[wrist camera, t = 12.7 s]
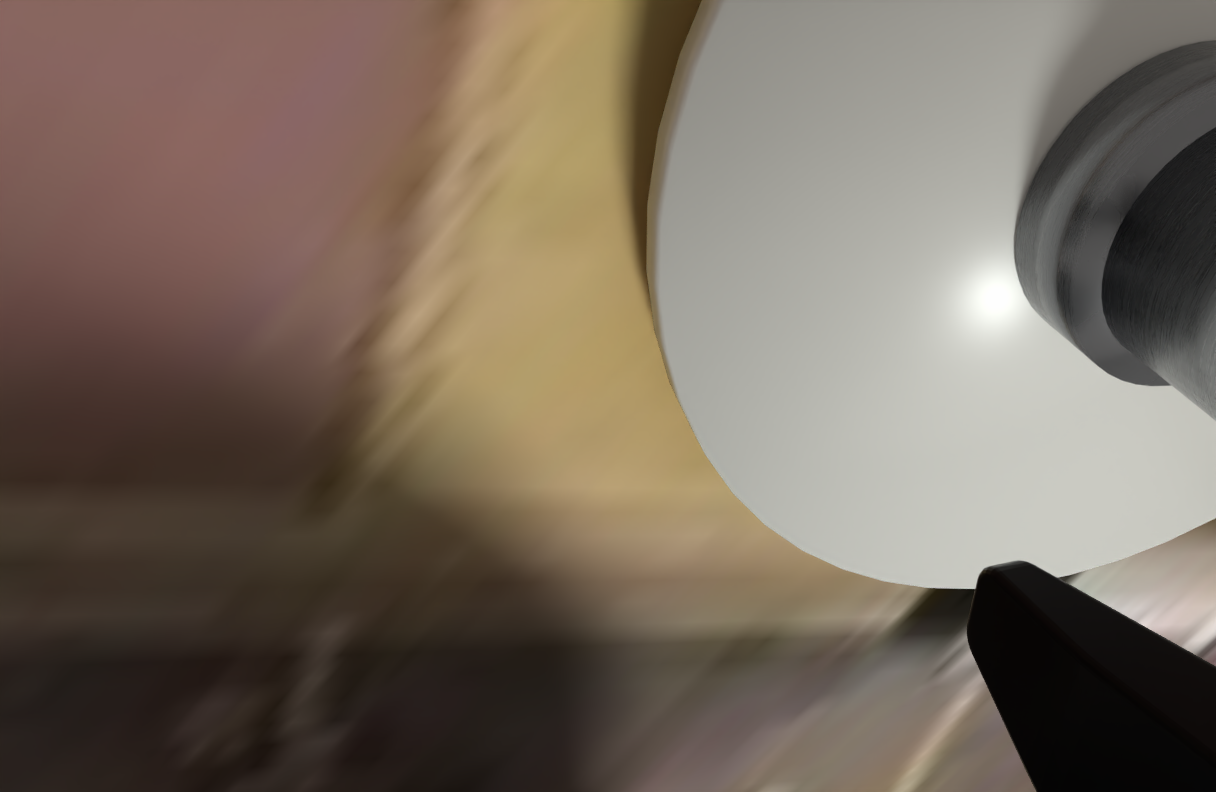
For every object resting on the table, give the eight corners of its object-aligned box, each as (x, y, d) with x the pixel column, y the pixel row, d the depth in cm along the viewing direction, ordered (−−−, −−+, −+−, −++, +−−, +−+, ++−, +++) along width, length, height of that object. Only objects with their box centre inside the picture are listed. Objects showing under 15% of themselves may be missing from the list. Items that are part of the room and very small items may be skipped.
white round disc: (410, 105, 18) (416, 127, 17) (1621, -861, 15) (1704, -894, 14) (900, 680, 31) (918, 709, 30) (1611, 231, 28) (1656, 249, 27)
